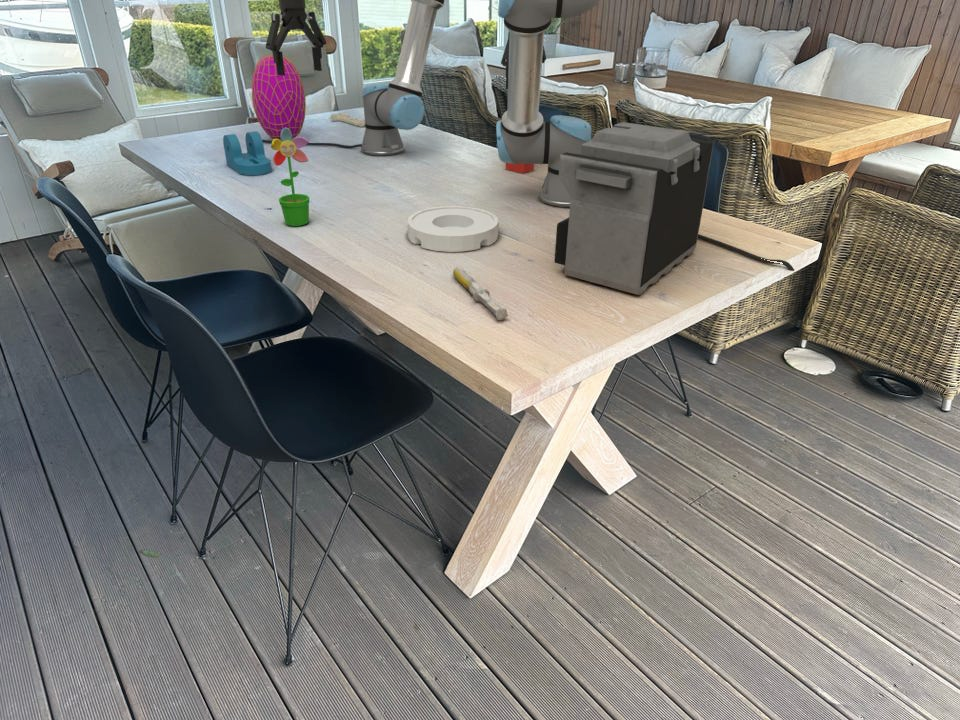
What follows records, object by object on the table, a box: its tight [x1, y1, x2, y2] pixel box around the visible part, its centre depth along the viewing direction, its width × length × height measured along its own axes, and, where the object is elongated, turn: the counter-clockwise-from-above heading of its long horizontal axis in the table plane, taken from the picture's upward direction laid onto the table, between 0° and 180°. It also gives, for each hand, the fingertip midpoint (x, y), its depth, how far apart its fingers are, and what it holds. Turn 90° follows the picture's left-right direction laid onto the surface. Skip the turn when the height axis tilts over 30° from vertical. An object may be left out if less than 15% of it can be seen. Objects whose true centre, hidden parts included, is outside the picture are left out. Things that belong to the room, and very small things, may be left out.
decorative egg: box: [251, 54, 307, 141], centre depth 257 cm, size 19×19×30 cm
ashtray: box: [407, 205, 499, 253], centre depth 175 cm, size 23×23×4 cm
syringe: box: [452, 266, 509, 321], centre depth 145 cm, size 25×4×3 cm, turn 21°
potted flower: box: [270, 128, 310, 227], centre depth 177 cm, size 9×8×25 cm
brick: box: [505, 163, 535, 175], centre depth 229 cm, size 6×8×12 cm
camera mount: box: [222, 131, 272, 176], centre depth 226 cm, size 18×10×10 cm, turn 35°
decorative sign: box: [330, 112, 365, 128], centre depth 295 cm, size 26×1×10 cm
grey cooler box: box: [554, 121, 715, 296], centre depth 154 cm, size 37×22×30 cm, turn 144°
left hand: (300, 72), depth 209 cm, fingers open, 13 cm apart
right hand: (523, 87), depth 218 cm, fingers open, 13 cm apart
